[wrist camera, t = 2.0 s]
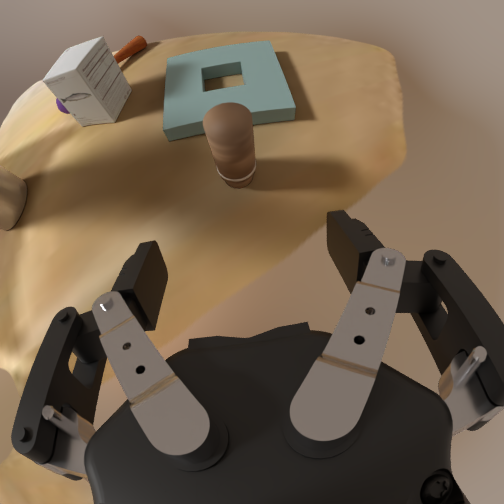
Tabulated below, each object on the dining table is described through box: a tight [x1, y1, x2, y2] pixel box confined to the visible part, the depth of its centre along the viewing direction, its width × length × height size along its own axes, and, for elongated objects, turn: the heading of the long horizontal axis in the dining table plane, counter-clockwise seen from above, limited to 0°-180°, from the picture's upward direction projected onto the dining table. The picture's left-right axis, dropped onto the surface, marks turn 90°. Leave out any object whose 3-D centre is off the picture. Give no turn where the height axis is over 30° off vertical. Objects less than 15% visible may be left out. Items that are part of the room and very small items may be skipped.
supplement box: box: [43, 37, 132, 126], centre depth 27 cm, size 7×7×13 cm
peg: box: [203, 102, 256, 188], centre depth 25 cm, size 4×4×10 cm
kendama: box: [56, 36, 147, 114], centre depth 33 cm, size 6×6×20 cm
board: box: [163, 41, 296, 141], centre depth 31 cm, size 16×16×2 cm
